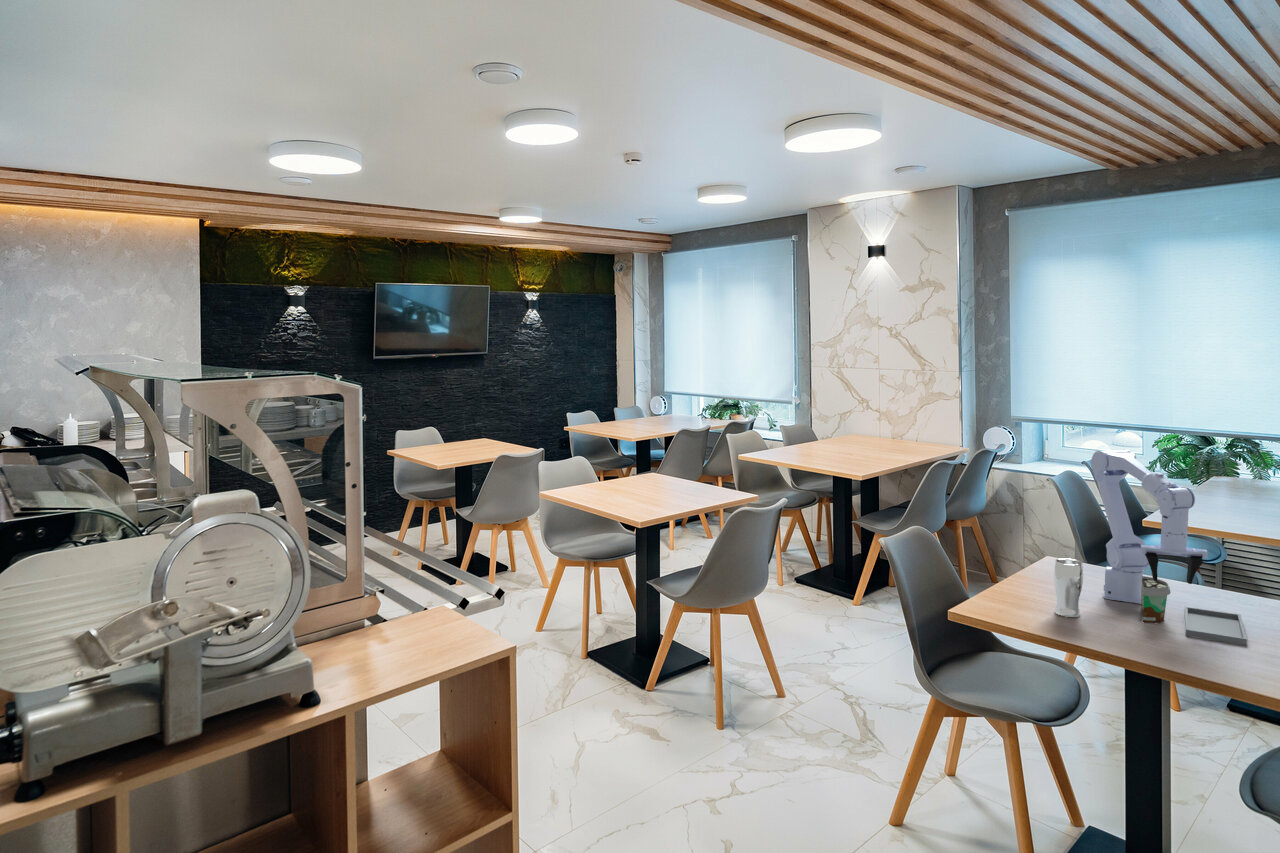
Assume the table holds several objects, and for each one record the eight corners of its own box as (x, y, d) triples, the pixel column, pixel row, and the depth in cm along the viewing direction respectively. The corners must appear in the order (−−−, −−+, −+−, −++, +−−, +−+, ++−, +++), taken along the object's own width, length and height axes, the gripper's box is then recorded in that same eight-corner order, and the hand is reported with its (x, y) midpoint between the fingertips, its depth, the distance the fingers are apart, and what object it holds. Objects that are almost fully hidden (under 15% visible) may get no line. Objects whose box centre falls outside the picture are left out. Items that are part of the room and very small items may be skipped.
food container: (1171, 628, 192) (1172, 591, 191) (1142, 624, 195) (1144, 588, 194) (1167, 613, 202) (1168, 578, 201) (1140, 610, 206) (1141, 575, 205)
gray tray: (1185, 635, 187) (1186, 629, 187) (1184, 612, 203) (1184, 606, 203) (1246, 645, 180) (1246, 639, 180) (1240, 620, 196) (1240, 614, 196)
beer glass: (1080, 611, 206) (1081, 559, 204) (1083, 619, 199) (1085, 566, 198) (1051, 608, 209) (1053, 557, 207) (1054, 616, 202) (1055, 563, 201)
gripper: (1144, 533, 196) (1142, 582, 197) (1211, 537, 190) (1209, 588, 191) (1139, 527, 202) (1137, 575, 204) (1204, 531, 196) (1201, 580, 197)
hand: (1171, 581), depth 198 cm, fingers open, 7 cm apart
